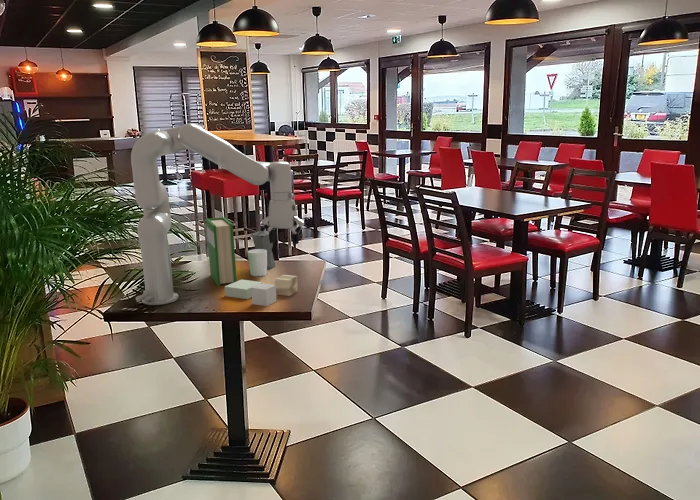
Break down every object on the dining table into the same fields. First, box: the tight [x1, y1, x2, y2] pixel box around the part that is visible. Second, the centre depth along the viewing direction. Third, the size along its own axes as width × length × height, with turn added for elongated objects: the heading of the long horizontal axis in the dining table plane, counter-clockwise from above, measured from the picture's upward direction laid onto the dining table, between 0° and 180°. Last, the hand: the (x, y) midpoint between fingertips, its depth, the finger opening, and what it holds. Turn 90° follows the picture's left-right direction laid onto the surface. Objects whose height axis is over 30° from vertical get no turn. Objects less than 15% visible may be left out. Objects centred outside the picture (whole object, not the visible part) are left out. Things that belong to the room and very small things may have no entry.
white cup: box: [247, 248, 268, 277], centre depth 237 cm, size 8×8×10 cm
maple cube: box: [274, 274, 299, 297], centre depth 211 cm, size 6×6×6 cm
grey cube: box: [251, 282, 277, 307], centre depth 200 cm, size 6×6×6 cm
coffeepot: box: [251, 226, 276, 270], centre depth 249 cm, size 15×9×18 cm, turn 4°
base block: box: [224, 279, 264, 300], centre depth 211 cm, size 10×10×4 cm
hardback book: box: [205, 216, 238, 287], centre depth 229 cm, size 18×7×24 cm, turn 22°
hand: (284, 243), depth 208 cm, fingers open, 9 cm apart
